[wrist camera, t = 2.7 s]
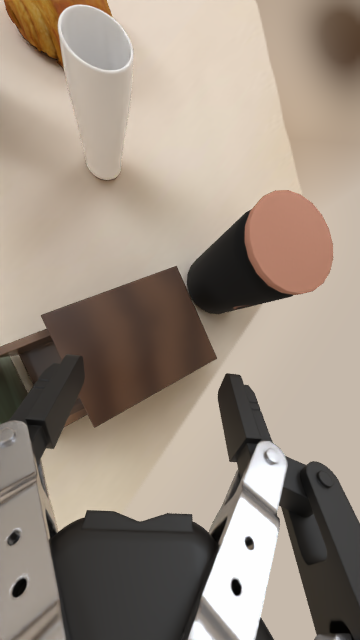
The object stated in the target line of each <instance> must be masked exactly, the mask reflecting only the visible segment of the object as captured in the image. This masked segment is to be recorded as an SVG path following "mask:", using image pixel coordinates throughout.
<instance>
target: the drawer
mask: <svg viewBox="0 0 360 640" xmlns="http://www.w3.org/2000/svg"><path fill="white" fill-rule="evenodd" d="M15 355H19V356H20V358H21V360H22V362H23V364H24V366H25V368H26V370H27V372H28V374H29V376H30V378H31V380H32V382H33V384H35V383H36V381H38V379H39V377H40V376H41V374H42V373H43V371H44V370H45V369H47V368H48V367H49V366H51V365H52V364H53V363H58V364H60V363H61V361H62V359H61V357H60V355H59V353H58V351H57V349H56V347H55V345H54V343H53V340H52V338H51V336H50V334H49V332H48V330H47V329H45V330H42V331H40V332H37V333H34V334H32V335H29V336H27V337H24V338H21V339H19V340H16V341H14V342H11V343H9V344H6V345H3V346H1V347H0V425H1V424H3V423H5V422H8V421H9V420H10V418H11V417H12V416H13V414H14V413H15V412H16V410H17V409H18V407H19V406H20V404H21V403H22V402H23V400H24V399H25V397H26V396H27V394H28V393H27V391H26V389H25V387H24V385H23V382H22V380H21V378H20V376H19V374H18V372H17V370H16V368H15V366H14V364H13V362H12V360H11V358H10V356H15ZM85 415H87V412H86V410H85V408H84V406H83V403H82V401H81V399H80V397H79V395H78V397H77V399H76V401H75V404H74V406H73V408H72V410H71V412H70V415H69V417H68V419H67V421H66V423H65V425H64V427H65V426H67V425H69V424H71V423H73V422H74V421H76V420H78V419H80V418H82V417H84V416H85Z"/></svg>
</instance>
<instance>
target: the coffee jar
mask: <svg viewBox="0 0 360 640" xmlns="http://www.w3.org/2000/svg"><path fill="white" fill-rule="evenodd" d="M332 261H333V243H332V239H331V235H330V231H329V228H328V226H327V224H326V222H325V220H324V218H323V216H322V214H321V213H320V212H319V211H318V210H317V209H316V207H315V206H314V205H313V203H311V202H310V201H309V200H307V199H306V198H305V197H303V196H302V195H300V194H297V193H294V192H292V191H289V190H279V191H273V192H271V193H269V194H267V195H265V196H263V197H262V198H261V199H260V200H259V202H258V203H257V204H256V205H255V206H254V207H253V209H251V210H249V211H248V212H246V213H245V214H244V215H243V216H242V217H241V218H240V219H239V220H238V221H236V222H235V223H234V224H233V225H232V226H231V227H230V228H229V229H228V230H227V231H226V232H225V233H224V234H223V235H222V236H221V237H220V238H219V239H218V240H217V241H216V242H215V243H213V244H212V245H211V246H210V247H209V248H208V249H207V250H206V251H205V252H204V253H203V254H202V255H201V256H200V257H199V258H198V259H197V260H196V261H195V262H194V263H193V264H192V265H191V267H190V270H189V273H188V278H187V286H188V290H189V294H190V296H191V297H192V299H193V301H194V302H195V303H196V304H197V305H198V306H199V307H200V308H201V309H203V310H205V311H207V312H209V313H214V314H221V313H225V312H229V311H233V310H237V309H242V308H246V307H250V306H254V305H258V304H262V303H266V302H271V301H275V300H279V299H283V298H287V297H291V296H293V295H298V294H303V293H307V292H311V291H314V290H315V289H316V288H317V287H319V286H320V285H321V284H323V283H324V281H325V279H326V278H327V276H328V274H329V273H330V270H331V265H332Z"/></svg>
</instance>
